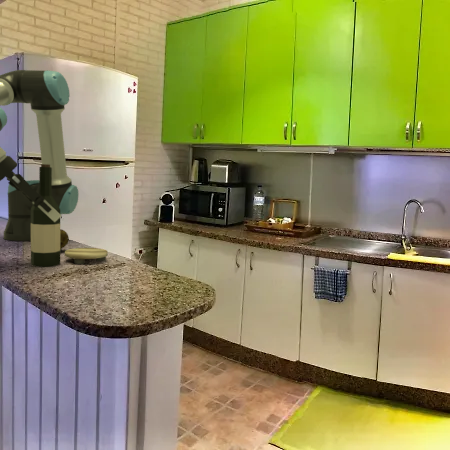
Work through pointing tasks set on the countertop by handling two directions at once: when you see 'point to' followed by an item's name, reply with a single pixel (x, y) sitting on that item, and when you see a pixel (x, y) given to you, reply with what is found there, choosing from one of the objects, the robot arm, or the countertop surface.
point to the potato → (63, 238)
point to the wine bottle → (45, 225)
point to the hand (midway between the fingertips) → (54, 216)
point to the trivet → (86, 254)
